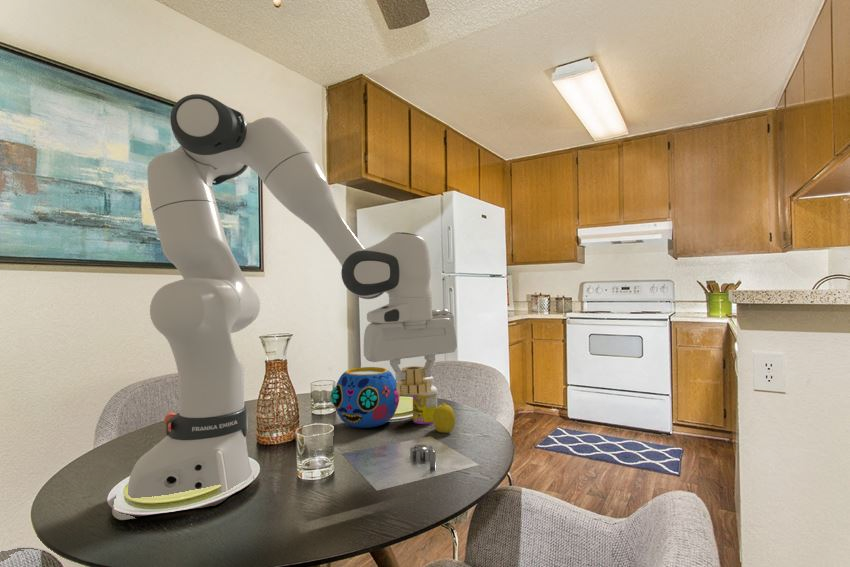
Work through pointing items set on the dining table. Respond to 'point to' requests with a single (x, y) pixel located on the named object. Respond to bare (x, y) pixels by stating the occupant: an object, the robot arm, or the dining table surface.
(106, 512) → the dining table surface
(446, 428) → the lemon
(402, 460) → the plate
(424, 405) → the supplement bottle
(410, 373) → the gear
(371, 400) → the ceramic pot
